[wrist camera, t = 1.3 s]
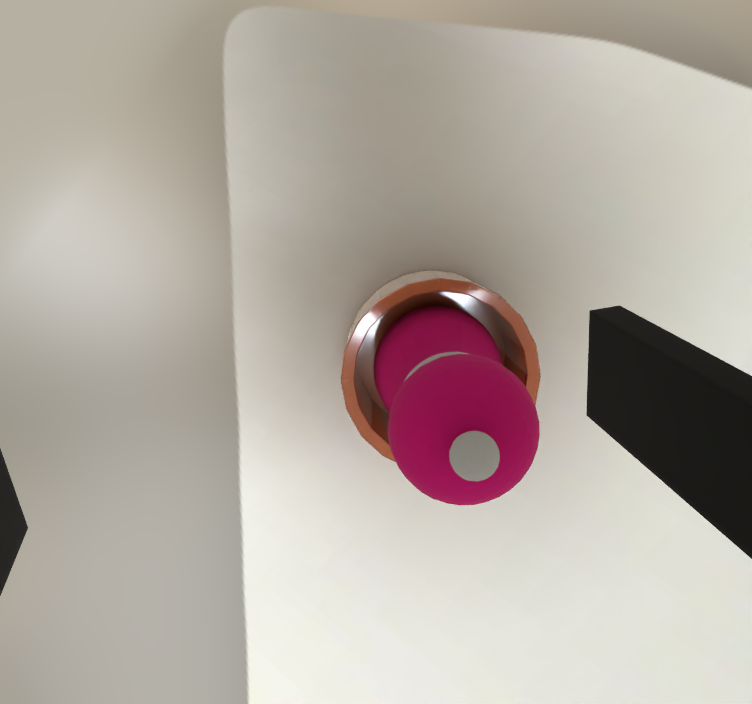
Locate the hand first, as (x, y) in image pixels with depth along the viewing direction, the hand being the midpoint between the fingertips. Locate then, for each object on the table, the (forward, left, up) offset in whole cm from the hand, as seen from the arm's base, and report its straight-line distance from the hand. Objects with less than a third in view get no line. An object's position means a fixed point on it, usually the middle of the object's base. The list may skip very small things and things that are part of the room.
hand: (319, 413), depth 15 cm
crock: (-4, +5, -28) cm, 29 cm away
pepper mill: (-4, +5, -28) cm, 28 cm away
